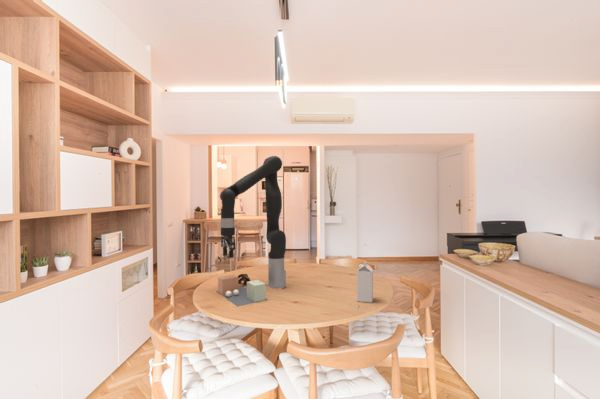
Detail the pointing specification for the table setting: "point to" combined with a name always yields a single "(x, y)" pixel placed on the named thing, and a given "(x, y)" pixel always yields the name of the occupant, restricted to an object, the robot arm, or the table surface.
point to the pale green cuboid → (256, 290)
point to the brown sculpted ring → (243, 278)
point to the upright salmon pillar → (227, 284)
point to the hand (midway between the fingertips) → (228, 256)
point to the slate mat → (239, 297)
